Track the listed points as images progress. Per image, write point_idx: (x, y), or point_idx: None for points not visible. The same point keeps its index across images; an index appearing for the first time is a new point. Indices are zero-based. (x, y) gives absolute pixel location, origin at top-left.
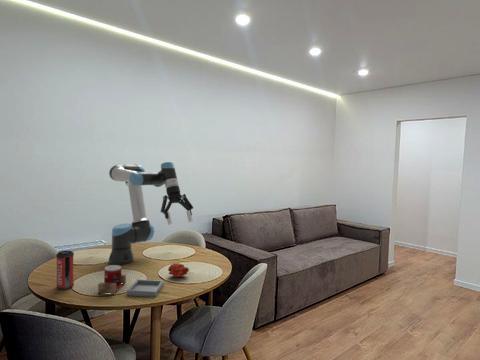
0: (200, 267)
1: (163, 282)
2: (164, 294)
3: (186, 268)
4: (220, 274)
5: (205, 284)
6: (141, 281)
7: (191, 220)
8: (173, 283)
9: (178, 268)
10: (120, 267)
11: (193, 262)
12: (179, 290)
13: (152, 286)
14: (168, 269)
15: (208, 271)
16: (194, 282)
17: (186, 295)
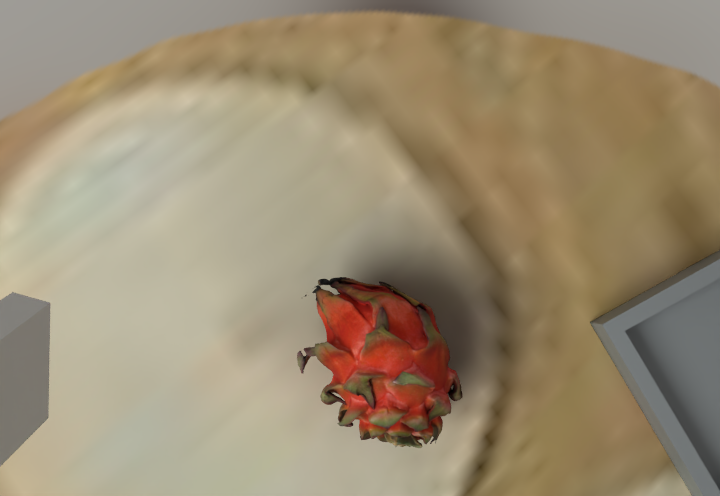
0: (96, 341)
1: (600, 321)
2: (708, 193)
3: (336, 298)
4: (137, 98)
5: (379, 68)
6: (710, 480)
7: (38, 306)
8: (515, 283)
9: (418, 328)
10: None
11: (24, 482)
12: (587, 153)
13: (682, 359)
14: (440, 432)
15: (137, 222)
16: (399, 162)
17: (622, 53)
